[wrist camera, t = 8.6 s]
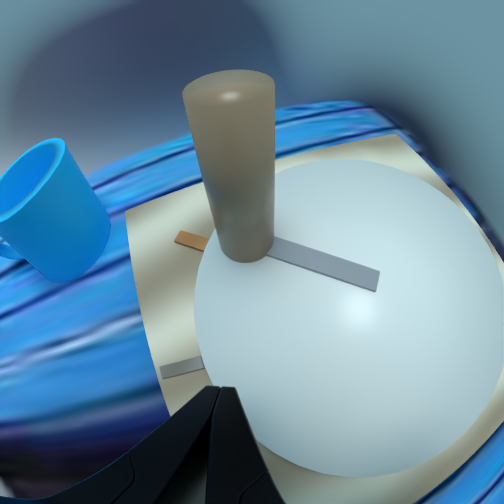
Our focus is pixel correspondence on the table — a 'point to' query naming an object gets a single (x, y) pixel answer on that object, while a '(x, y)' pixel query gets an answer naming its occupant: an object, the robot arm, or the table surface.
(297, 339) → the dial
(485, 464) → the table surface
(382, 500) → the dial board
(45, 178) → the mug
